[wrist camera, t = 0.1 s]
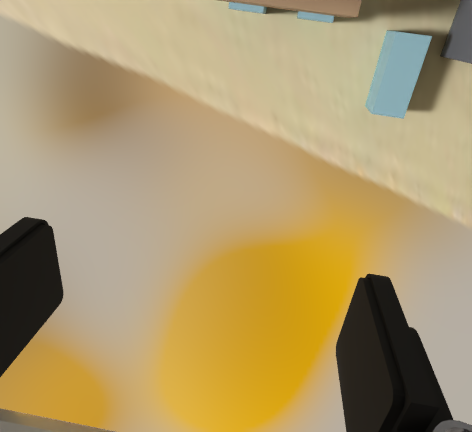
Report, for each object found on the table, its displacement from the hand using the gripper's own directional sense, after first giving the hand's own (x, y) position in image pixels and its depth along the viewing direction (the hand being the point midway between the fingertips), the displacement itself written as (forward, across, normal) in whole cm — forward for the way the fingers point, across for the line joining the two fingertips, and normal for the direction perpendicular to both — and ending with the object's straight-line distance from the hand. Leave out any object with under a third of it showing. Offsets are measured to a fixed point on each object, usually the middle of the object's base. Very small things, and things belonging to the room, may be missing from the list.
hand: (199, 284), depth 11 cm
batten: (+31, -12, -4) cm, 34 cm away
